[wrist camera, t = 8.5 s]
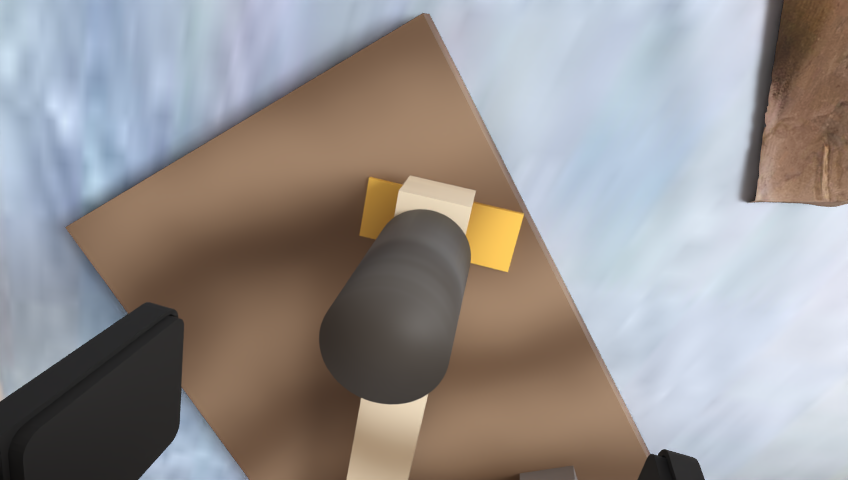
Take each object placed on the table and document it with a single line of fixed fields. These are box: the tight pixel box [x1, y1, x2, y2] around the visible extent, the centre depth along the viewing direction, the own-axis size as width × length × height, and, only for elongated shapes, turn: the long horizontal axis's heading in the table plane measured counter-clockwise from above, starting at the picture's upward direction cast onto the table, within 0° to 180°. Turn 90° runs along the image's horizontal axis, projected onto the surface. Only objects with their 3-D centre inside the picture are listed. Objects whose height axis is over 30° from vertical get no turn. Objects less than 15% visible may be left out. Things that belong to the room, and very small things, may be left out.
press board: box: [65, 13, 650, 480], centre depth 24 cm, size 26×18×6 cm
